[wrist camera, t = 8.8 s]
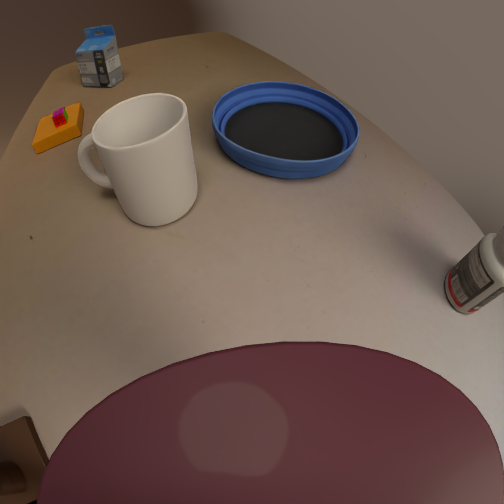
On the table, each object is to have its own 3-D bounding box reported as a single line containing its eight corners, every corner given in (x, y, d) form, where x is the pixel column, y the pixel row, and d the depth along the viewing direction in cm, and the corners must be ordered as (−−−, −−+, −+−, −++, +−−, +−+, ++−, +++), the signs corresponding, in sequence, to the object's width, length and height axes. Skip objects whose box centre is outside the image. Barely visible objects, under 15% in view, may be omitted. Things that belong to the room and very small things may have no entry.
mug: (84, 225, 28) (42, 155, 19) (110, 170, 32) (83, 101, 24) (190, 232, 28) (171, 147, 19) (205, 171, 32) (196, 91, 23)
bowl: (207, 184, 31) (204, 159, 28) (218, 99, 41) (217, 80, 38) (368, 189, 32) (378, 167, 29) (336, 105, 41) (340, 86, 38)
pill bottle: (479, 278, 26) (532, 230, 18) (477, 321, 24) (541, 278, 15) (444, 262, 27) (496, 205, 19) (440, 306, 25) (503, 255, 16)
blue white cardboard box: (82, 87, 46) (68, 36, 35) (96, 77, 48) (84, 28, 37) (111, 88, 44) (97, 31, 34) (125, 78, 46) (114, 23, 36)
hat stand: (80, 515, 14) (42, 531, 8) (17, 526, 11) (-20, 534, 5) (30, 416, 18) (-14, 408, 12) (-23, 440, 15) (-63, 433, 9)
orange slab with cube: (37, 154, 35) (26, 134, 31) (44, 128, 39) (36, 109, 35) (81, 135, 37) (72, 113, 33) (84, 111, 40) (77, 91, 37)
